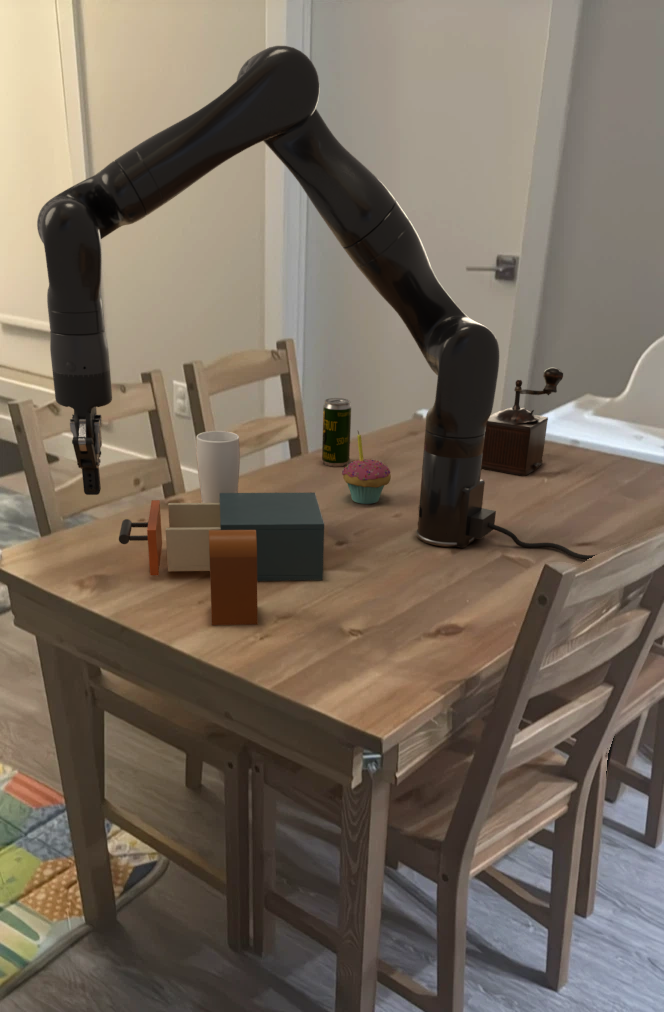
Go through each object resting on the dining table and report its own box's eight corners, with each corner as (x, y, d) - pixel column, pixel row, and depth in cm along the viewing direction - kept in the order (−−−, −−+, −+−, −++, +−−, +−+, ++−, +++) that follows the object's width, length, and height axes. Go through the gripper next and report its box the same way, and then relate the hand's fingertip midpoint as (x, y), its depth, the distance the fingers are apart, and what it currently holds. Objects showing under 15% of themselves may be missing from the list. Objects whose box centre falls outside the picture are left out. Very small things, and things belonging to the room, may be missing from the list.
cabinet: (222, 581, 142) (220, 524, 138) (221, 546, 154) (219, 492, 150) (322, 580, 144) (324, 523, 139) (314, 545, 156) (315, 492, 151)
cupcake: (334, 503, 174) (336, 434, 168) (351, 489, 181) (354, 423, 174) (380, 510, 171) (384, 441, 165) (396, 496, 178) (400, 429, 172)
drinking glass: (234, 537, 158) (232, 443, 150) (193, 533, 159) (189, 439, 151) (245, 523, 163) (244, 432, 156) (206, 519, 164) (203, 428, 157)
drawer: (119, 575, 141) (115, 530, 137) (125, 543, 152) (122, 500, 148) (244, 574, 143) (244, 529, 139) (242, 542, 154) (241, 499, 150)
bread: (256, 608, 135) (255, 524, 128) (257, 624, 130) (256, 537, 124) (211, 609, 134) (208, 524, 128) (211, 625, 130) (208, 538, 124)
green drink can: (333, 457, 198) (335, 396, 192) (354, 463, 195) (357, 401, 189) (316, 463, 194) (317, 400, 188) (337, 468, 191) (339, 405, 185)
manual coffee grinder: (528, 477, 190) (541, 380, 181) (475, 467, 195) (485, 373, 186) (554, 458, 202) (567, 367, 193) (503, 449, 207) (514, 360, 197)
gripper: (105, 377, 127) (115, 508, 135) (113, 357, 138) (122, 479, 147) (45, 376, 126) (59, 508, 135) (58, 356, 137) (71, 479, 146)
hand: (92, 492), depth 141 cm, fingers closed
